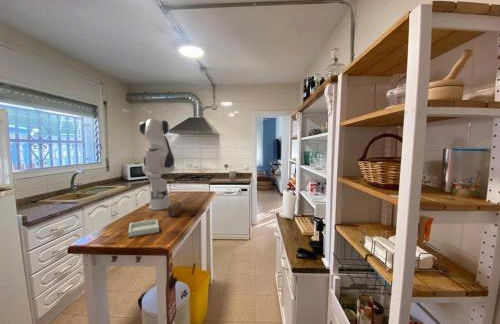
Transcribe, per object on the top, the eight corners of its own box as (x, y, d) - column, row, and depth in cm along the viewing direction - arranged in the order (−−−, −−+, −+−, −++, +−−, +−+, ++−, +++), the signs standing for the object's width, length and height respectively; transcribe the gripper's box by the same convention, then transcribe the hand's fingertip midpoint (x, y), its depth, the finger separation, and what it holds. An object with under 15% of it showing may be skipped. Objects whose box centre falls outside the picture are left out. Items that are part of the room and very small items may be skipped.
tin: (170, 217, 157) (170, 206, 157) (166, 217, 158) (166, 205, 157) (181, 211, 172) (181, 200, 171) (177, 211, 173) (177, 200, 172)
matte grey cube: (150, 198, 140) (150, 190, 140) (158, 197, 142) (158, 189, 142) (151, 199, 136) (150, 191, 136) (159, 198, 138) (158, 191, 138)
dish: (129, 227, 138) (129, 223, 138) (157, 223, 145) (157, 219, 145) (128, 237, 124) (128, 231, 123) (159, 232, 131) (159, 227, 130)
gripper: (147, 172, 146) (148, 193, 147) (149, 175, 128) (150, 199, 128) (157, 172, 149) (158, 192, 150) (160, 175, 131) (161, 198, 131)
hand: (154, 195), depth 139 cm, fingers closed on matte grey cube, 4 cm apart
